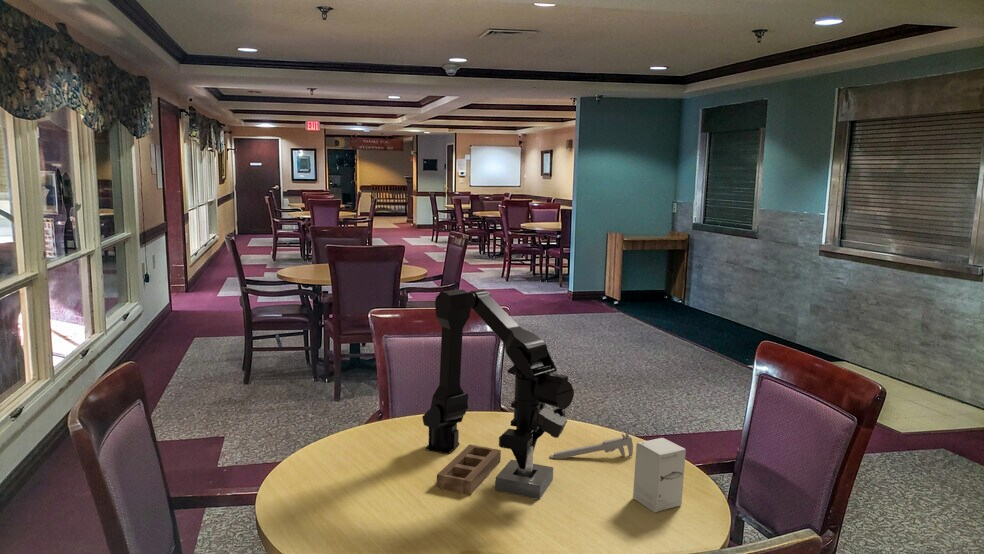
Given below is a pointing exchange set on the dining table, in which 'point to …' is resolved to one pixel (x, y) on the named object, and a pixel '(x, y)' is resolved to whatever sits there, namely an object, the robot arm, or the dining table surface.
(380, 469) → the dining table surface
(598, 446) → the caliper
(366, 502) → the dining table surface
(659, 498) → the supplement box
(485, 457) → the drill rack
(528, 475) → the metal peg
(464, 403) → the robot arm
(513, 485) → the socket block
